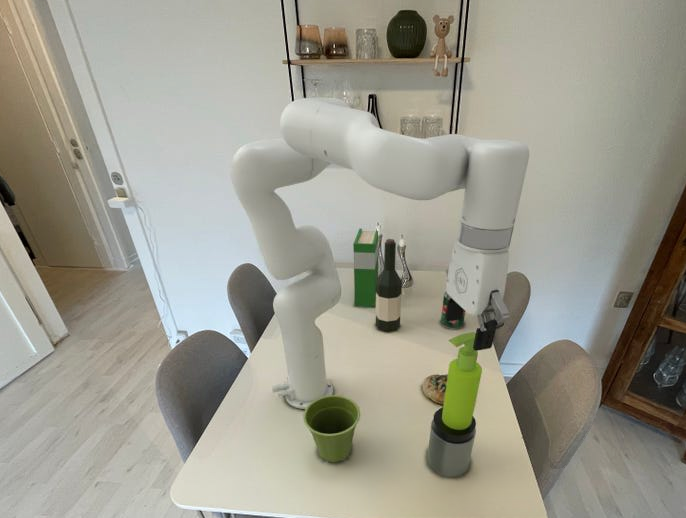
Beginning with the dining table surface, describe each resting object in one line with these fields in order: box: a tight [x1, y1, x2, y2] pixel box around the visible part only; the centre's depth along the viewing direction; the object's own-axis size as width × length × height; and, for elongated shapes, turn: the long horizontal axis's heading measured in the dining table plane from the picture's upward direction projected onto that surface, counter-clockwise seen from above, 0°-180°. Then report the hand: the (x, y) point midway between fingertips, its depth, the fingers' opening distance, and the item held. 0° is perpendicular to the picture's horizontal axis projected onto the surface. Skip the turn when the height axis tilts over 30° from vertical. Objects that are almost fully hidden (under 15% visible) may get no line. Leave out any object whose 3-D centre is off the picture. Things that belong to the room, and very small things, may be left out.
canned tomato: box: [440, 290, 466, 330], centre depth 130 cm, size 8×8×11 cm
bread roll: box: [421, 373, 448, 405], centre depth 101 cm, size 11×11×5 cm
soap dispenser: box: [442, 331, 483, 430], centre depth 71 cm, size 6×7×20 cm
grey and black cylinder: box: [426, 406, 477, 478], centre depth 80 cm, size 9×9×12 cm
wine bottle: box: [375, 238, 403, 333], centre depth 123 cm, size 8×8×30 cm
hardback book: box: [353, 228, 380, 308], centre depth 144 cm, size 18×7×24 cm, turn 174°
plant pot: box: [302, 394, 361, 463], centre depth 83 cm, size 12×12×11 cm
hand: (466, 333), depth 66 cm, fingers open, 9 cm apart
